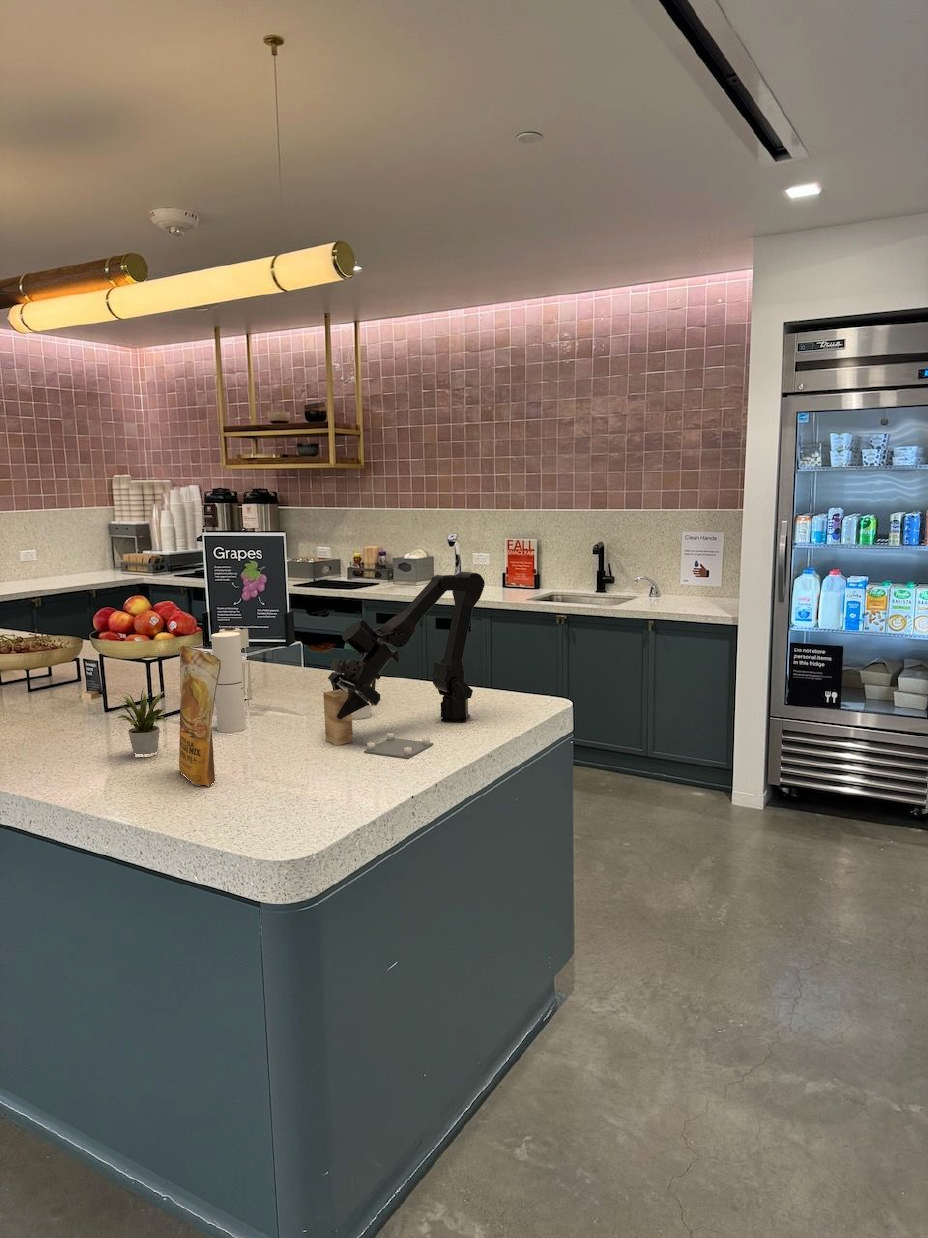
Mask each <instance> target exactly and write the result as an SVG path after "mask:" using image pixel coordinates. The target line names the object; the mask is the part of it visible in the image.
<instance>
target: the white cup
mask: <svg viewBox="0 0 928 1238" xmlns="http://www.w3.org/2000/svg"><path fill="white" fill-rule="evenodd" d="M370 686H371V687H372V684H371V685H370ZM368 703H369V704H370V705H369V706H365V707H363V708H361V709H359V710H357V711H355V712H353V713H352V720H362V719H367V718H370V717H371V716H372V706H373V705H372V704H371V703H370V700H369V701H368Z"/></svg>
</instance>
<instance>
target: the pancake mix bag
mask: <svg viewBox="0 0 928 1238" xmlns="http://www.w3.org/2000/svg"><path fill="white" fill-rule="evenodd" d="M177 650H178V653H179V670H180V673H179V675H180V677H179V678H180V679H179V680H180V682H179V683H180V684H179V685H180V687H179V688H180V701H179V703H180V705H179V708H180V709H179V711H180V712H179V747H178V748H179V749H178V750H179V751H178V752H179V754H178V769H179V771H180V772H181V773H182V774H184V775H185V776H186V777H187V778H188V779H189V780H191V781H192V782H193V783H194V784H196V785H206V786H205V787H207V786H208V788H209V786H210V785H211V784H212V783H214V781H215V782H216V776H215V761H214V759H215V758H214V757H215V756H214V743H213V732H212V731H213V730H212V722H213V714H214V709H215V702H216V699H215V693H216V687H217V683H218V678H219V673H220V669H221V661H220V660H219V659H218V658H217V657H216V656H214V655H213V654H211V653H207V652H205V651H202V650H200V649H197V648H193V647H190V646H185V645H181V646H179V647H178V649H177ZM181 773H180V774H181ZM189 780H188V781H189ZM194 784H193V785H194ZM214 784H215V783H214ZM211 786H212V785H211ZM211 786H210V787H211Z"/></svg>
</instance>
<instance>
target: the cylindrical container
mask: <svg viewBox="0 0 928 1238" xmlns="http://www.w3.org/2000/svg"><path fill="white" fill-rule="evenodd" d="M210 639H211V648H212V649H211V651H212V655H214V656H216V657H217V658H218V659H219V660H220V661H221V669H220V673H219V678H218V683H217V687H216V693H215V711H216V728H217V732H219V733H222V732H223V733H224V732H225V733H224V734H227V733H228V734H230V733H232V732H233V733H239V732H241V731H244V730H245V729H246V728H247V727H246V723H247V722H246V710H245V707H246V706H245V700H244V690H243V674H242V657H241V641H240V633H238V632H222V633H219V632H217V633H213V634H211V638H210Z"/></svg>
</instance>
